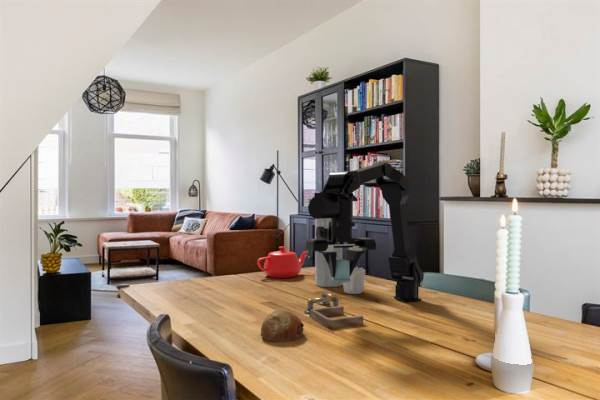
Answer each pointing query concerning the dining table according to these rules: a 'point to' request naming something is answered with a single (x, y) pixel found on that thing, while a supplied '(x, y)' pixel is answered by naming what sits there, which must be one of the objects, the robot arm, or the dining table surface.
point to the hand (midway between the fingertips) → (341, 276)
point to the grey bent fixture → (322, 301)
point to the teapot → (282, 263)
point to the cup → (355, 282)
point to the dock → (333, 323)
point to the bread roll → (281, 327)
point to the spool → (342, 271)
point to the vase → (324, 261)
